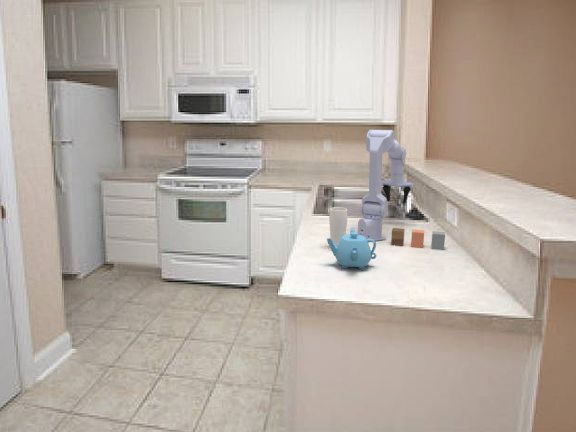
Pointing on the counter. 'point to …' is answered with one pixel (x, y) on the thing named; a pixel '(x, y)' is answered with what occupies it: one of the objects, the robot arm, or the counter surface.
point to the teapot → (353, 250)
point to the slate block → (438, 240)
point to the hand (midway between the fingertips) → (396, 201)
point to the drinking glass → (337, 223)
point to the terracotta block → (417, 238)
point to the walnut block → (397, 237)
